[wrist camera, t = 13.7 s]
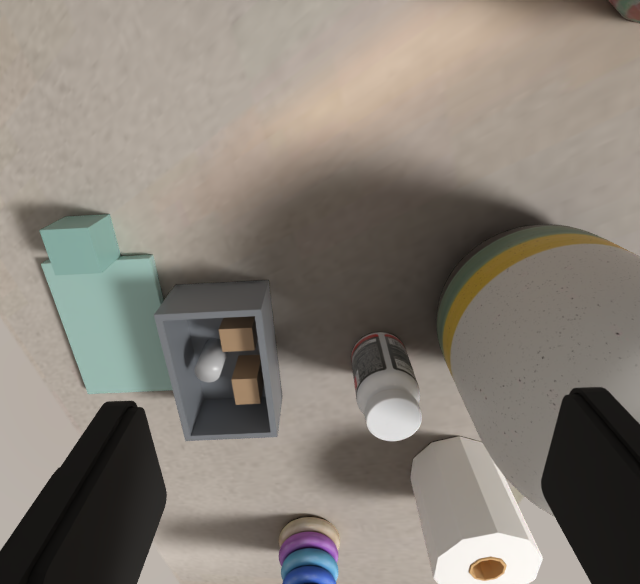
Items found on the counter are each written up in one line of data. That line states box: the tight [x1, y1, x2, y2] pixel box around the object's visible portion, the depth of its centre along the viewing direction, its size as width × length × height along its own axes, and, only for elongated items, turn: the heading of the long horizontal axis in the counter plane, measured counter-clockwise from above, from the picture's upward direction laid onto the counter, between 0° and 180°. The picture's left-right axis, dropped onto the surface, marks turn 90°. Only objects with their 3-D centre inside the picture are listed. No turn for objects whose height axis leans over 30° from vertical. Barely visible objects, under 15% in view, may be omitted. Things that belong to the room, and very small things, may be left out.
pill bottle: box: [351, 332, 422, 441], centre depth 40 cm, size 6×6×10 cm
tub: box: [154, 280, 282, 441], centre depth 41 cm, size 14×9×6 cm, turn 3°
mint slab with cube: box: [39, 214, 173, 394], centre depth 41 cm, size 19×10×4 cm, turn 3°
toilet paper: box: [410, 436, 543, 584], centre depth 46 cm, size 10×10×12 cm
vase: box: [437, 225, 640, 517], centre depth 31 cm, size 17×17×24 cm
